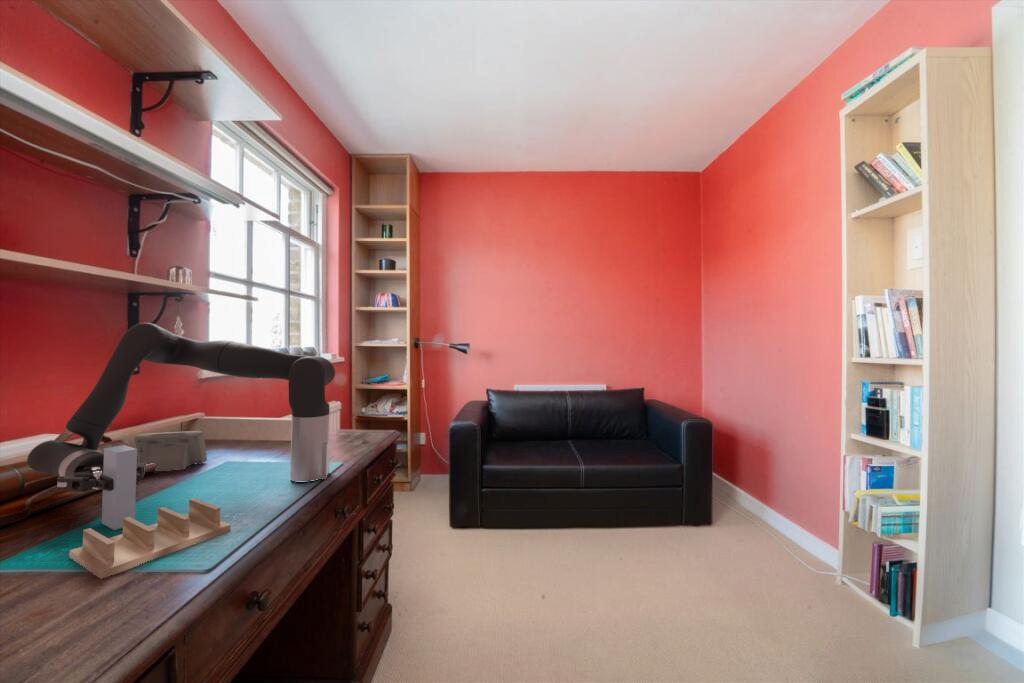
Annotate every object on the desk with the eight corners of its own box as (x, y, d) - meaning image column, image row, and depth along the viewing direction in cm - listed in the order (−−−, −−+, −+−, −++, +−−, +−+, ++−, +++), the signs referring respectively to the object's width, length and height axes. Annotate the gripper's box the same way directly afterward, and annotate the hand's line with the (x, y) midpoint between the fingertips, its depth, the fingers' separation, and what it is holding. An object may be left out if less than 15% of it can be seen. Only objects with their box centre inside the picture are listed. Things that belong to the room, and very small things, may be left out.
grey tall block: (121, 517, 80) (124, 445, 80) (134, 523, 77) (137, 448, 77) (101, 523, 77) (104, 448, 77) (114, 530, 75) (116, 452, 75)
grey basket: (210, 462, 118) (211, 427, 118) (191, 472, 109) (192, 434, 109) (150, 464, 115) (151, 428, 116) (125, 474, 106) (126, 435, 107)
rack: (195, 516, 81) (196, 495, 81) (230, 530, 75) (231, 507, 75) (69, 557, 65) (70, 530, 65) (100, 579, 59) (101, 550, 59)
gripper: (40, 459, 78) (72, 473, 70) (132, 444, 91) (168, 455, 83) (39, 496, 78) (71, 515, 70) (131, 476, 91) (167, 490, 83)
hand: (123, 482), depth 77 cm, fingers closed on grey tall block, 3 cm apart
